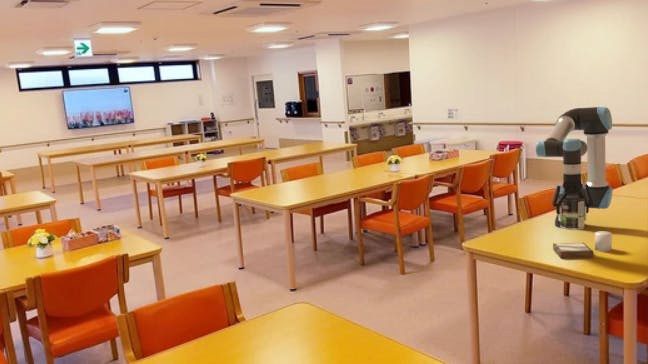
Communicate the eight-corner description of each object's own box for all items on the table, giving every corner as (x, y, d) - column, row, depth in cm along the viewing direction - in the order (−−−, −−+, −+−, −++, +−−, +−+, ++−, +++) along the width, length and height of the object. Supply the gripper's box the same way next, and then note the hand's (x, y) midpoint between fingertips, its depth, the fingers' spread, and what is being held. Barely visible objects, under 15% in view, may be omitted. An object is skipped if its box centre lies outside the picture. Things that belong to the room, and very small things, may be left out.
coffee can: (567, 230, 249) (567, 200, 247) (556, 225, 259) (555, 196, 257) (589, 228, 250) (589, 198, 247) (577, 223, 260) (577, 194, 257)
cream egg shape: (593, 247, 263) (593, 231, 262) (608, 247, 262) (608, 230, 260) (597, 252, 256) (597, 235, 255) (613, 251, 255) (614, 234, 254)
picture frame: (553, 249, 265) (553, 243, 264) (583, 248, 262) (583, 242, 262) (560, 258, 251) (560, 251, 250) (593, 257, 249) (593, 250, 248)
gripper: (548, 175, 249) (548, 223, 252) (601, 173, 245) (601, 221, 248) (544, 173, 256) (544, 219, 259) (595, 170, 252) (595, 217, 256)
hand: (572, 220), depth 254 cm, fingers closed on coffee can, 10 cm apart
